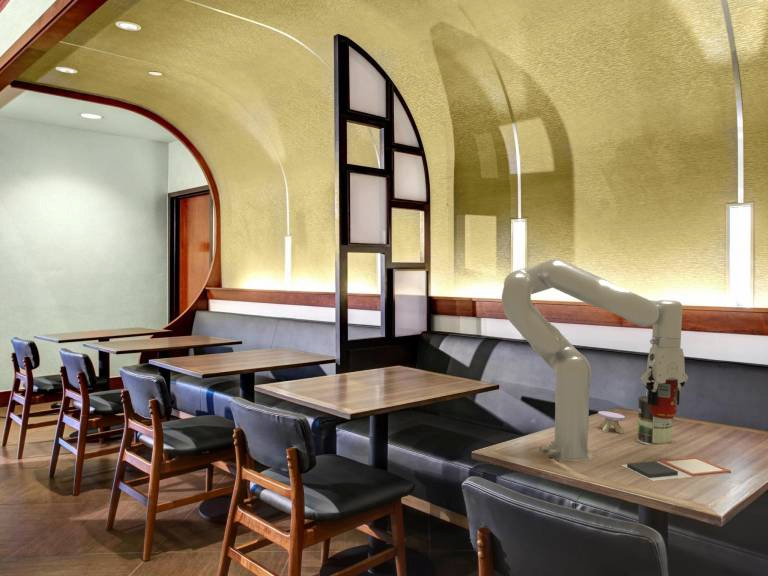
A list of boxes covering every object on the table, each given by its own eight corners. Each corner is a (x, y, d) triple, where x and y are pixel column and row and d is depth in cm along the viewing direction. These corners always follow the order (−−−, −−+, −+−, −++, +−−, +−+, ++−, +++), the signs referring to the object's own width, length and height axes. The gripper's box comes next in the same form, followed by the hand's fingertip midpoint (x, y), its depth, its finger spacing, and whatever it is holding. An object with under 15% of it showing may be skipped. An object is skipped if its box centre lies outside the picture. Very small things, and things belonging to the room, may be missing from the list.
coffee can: (634, 443, 199) (635, 400, 199) (639, 436, 208) (640, 394, 208) (669, 448, 194) (671, 404, 193) (673, 440, 203) (674, 398, 202)
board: (652, 485, 161) (652, 480, 161) (620, 469, 174) (621, 465, 174) (727, 477, 168) (727, 473, 168) (691, 462, 180) (691, 458, 180)
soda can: (679, 420, 175) (680, 377, 174) (652, 418, 176) (654, 376, 176) (673, 415, 182) (674, 373, 181) (647, 413, 183) (649, 372, 183)
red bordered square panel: (692, 476, 165) (692, 474, 165) (659, 461, 177) (659, 460, 177) (730, 472, 168) (730, 470, 168) (695, 458, 180) (695, 456, 180)
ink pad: (649, 478, 163) (649, 474, 163) (627, 467, 172) (627, 463, 172) (677, 475, 166) (677, 471, 166) (654, 464, 174) (654, 461, 174)
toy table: (591, 428, 218) (591, 412, 218) (611, 425, 222) (611, 410, 221) (611, 435, 209) (611, 418, 209) (631, 432, 213) (632, 416, 212)
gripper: (650, 345, 172) (647, 408, 173) (700, 344, 177) (697, 406, 178) (632, 341, 179) (629, 402, 180) (680, 341, 185) (677, 400, 185)
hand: (663, 403), depth 179 cm, fingers closed on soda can, 7 cm apart
